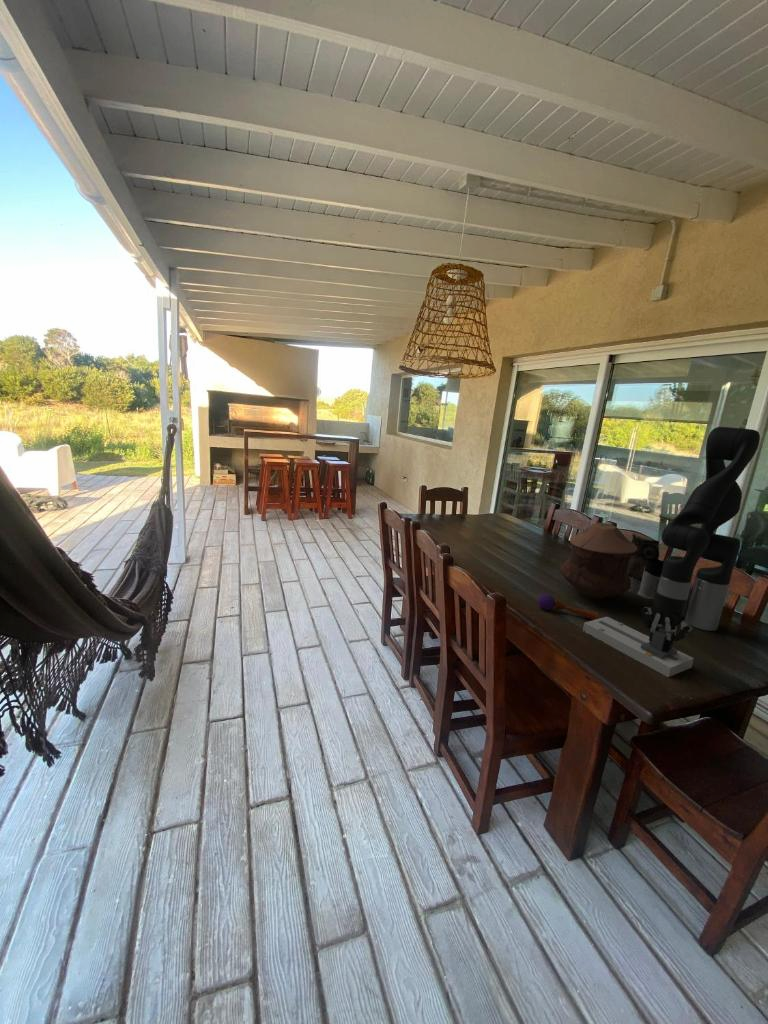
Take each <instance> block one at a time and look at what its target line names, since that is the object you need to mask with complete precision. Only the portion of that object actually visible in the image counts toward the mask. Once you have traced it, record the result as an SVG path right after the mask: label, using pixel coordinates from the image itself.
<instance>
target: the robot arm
mask: <svg viewBox="0 0 768 1024" xmlns="http://www.w3.org/2000/svg"><path fill="white" fill-rule="evenodd" d="M760 440H761V435H760V432H759V431H758V430H757V429H750V428H741V427H731V426H717V427H715V428H713V429H711V431H710V432H709V434H708V436H707V439H706V445H705V480H704V481H702V482H701V483H700V484H699V485H698V486H696V487H695V489H694V490H693V491H692V493H691V494H690V496H689V497H688V500H687V501H686V504H685V505H684V507H683V509H681V511H680V512H679V513H677V514H676V516H675V517H674V518H673V519H672V520H671V521H670V522H669V523H668V524H666V526H665V527H664V529H663V530H662V533H661V541H662V543H663V544H664V545H665V546H666V547H668V548H671V549H676V550H679V551H683V552H686V554H685V555H684V556H680V555H679V556H677V555H676V556H675V555H669V556H667V557H665V558H664V560H663V561H664V564H663V568H662V573H661V577H660V579H659V581H658V585H657V590H656V594H655V599H654V600H653V605H652V606H651V607H650V606H645V607H641V609H640V612H641V615H642V620H643V625H644V627H645V628H646V629H648V630H649V631H650V635H649V641H650V644H651V641H652V636H653V632H654V631H657V630H660V629H661V627H662V626H664V627H665V629H664V630H665V631H666V639H665V643H664V647H663V650H664V651H668V650H671V649H672V647H673V645H674V642H679V641H682V640H683V639H685V638H686V637H687V636H688V634H689V633H691V631H693V630H694V628H696V629H699V630H703V631H709V632H715V631H717V630H718V628H719V627H718V626H719V624H720V619H721V616H722V613H723V608H724V606H725V605H724V604H725V601H726V598H727V593H728V589H729V586H730V581H731V579H732V575H733V574H732V573H733V570H734V568H735V565H736V562H737V559H738V556H739V553H740V549H741V541H740V539H739V538H737V537H733V536H727V535H724V534H717V533H714V532H715V531H716V530H717V529H718V528H719V527H721V526H723V525H724V524H725V523H727V522H729V521H730V520H731V519H733V518H734V517H736V516H737V515H738V513H739V511H740V509H741V504H742V497H743V491H742V489H741V487H740V485H739V483H738V482H737V479H738V478H739V477H740V476H741V474H742V473H743V472H744V470H745V469H746V468H747V466H748V465H749V464H750V462H751V461H752V459H753V458H754V456H755V455H756V452H757V450H758V449H759V445H760ZM725 461H730V463H729V464H728V465H727V466H726V464H725ZM691 525H701V527H696V526H691ZM700 558H701V559H705V560H708V561H712V562H718V563H721V565H718V566H713V567H700V568H698V569H697V571H696V574H695V578H694V582H693V586H692V590H691V585H692V583H691V582H692V578H693V575H694V571H695V567H696V565H697V563H698V562H699V560H700ZM690 592H691V594H690ZM689 595H690V599H689ZM688 599H689V603H688ZM687 603H688V606H687ZM686 608H687V611H686ZM685 612H686V615H685ZM684 615H685V617H684ZM652 616H653V618H654V619H653V618H652ZM678 625H680V631H679V632H678V633H677V634H676V632H677V630H678V629H677V628H678V627H677V626H678Z"/></svg>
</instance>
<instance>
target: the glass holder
mask: <svg viewBox="0 0 768 1024" xmlns="http://www.w3.org/2000/svg"><path fill="white" fill-rule="evenodd" d="M663 564H664V560H660V559H658V560H657V559H647V561H646V565H645V568H644V572H643V577H642V582H641V581H640V585H639V586H640V587H639V590H638V591H637V594H638V595H639V596H640V595H641V596H640V597H642V596H643V597H642V598H644V597H645V598H644V599H647V598H648V599H647V600H650V599H653V600H652V601H654V599H655V594H656V590H657V585H658V581H659V579H660V577H661V573H662V568H663Z"/></svg>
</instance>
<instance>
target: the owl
mask: <svg viewBox="0 0 768 1024" xmlns="http://www.w3.org/2000/svg"><path fill="white" fill-rule="evenodd" d="M630 542H631V543H633V544H634V545H635V546H637V548H638V549H637V551H635V552H633V553H631V555H630V559H629V564H628V568H627V573H628V575H629V576H630V578H631V577H633V578H632V579H634V580H636V579H637V581H639V580H640V581H639V582H641V581H642V577H643V572H644V568H645V565H646V561H647V559H657V560H660V546H659V545H660V540H656V539H653V538H649V537H647V536H641V535H637V534H635V533H632V540H631V541H630Z"/></svg>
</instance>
